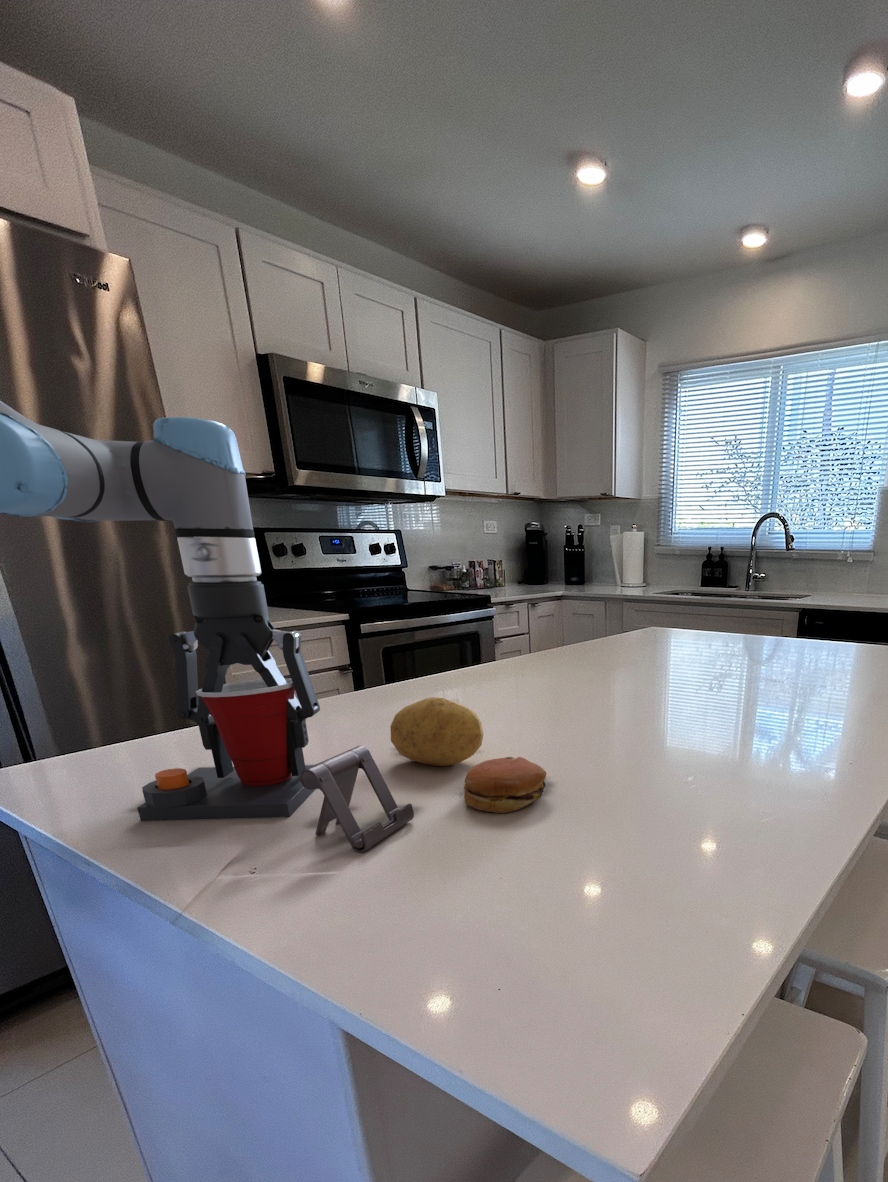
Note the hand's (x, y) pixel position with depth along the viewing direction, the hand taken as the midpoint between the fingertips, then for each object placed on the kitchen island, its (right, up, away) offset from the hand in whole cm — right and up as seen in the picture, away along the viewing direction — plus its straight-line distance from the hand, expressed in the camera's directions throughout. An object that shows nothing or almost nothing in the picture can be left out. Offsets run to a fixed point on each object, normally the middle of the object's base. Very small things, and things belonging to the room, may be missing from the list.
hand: (262, 773), depth 81 cm
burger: (+30, -3, -1) cm, 31 cm away
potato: (+19, +2, +12) cm, 23 cm away
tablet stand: (+16, -7, -11) cm, 21 cm away
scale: (-2, -3, -1) cm, 4 cm away
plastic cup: (0, -1, 0) cm, 1 cm away
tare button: (-6, -2, -7) cm, 10 cm away
